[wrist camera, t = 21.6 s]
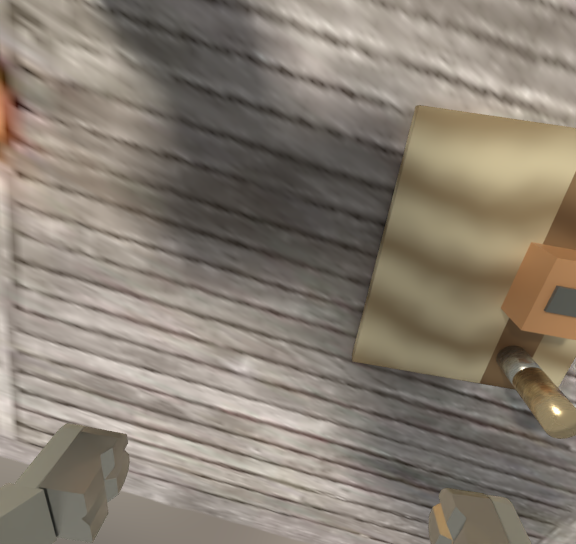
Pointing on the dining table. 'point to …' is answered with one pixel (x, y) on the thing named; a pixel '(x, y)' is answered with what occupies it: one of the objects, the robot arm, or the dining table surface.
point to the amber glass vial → (538, 392)
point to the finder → (544, 292)
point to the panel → (467, 245)
